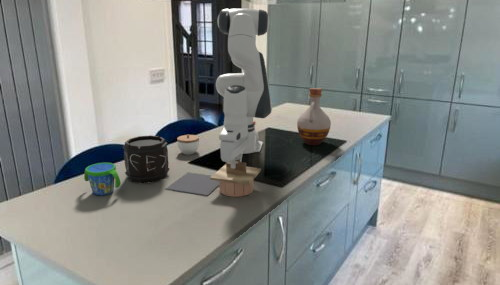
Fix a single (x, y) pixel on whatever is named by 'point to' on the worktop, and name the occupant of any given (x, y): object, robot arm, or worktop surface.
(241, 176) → the lid
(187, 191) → the mat
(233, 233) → the worktop surface
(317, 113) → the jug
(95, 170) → the snack cup
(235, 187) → the bowl
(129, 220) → the worktop surface
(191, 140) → the lidded jar
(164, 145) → the wooden barrel
